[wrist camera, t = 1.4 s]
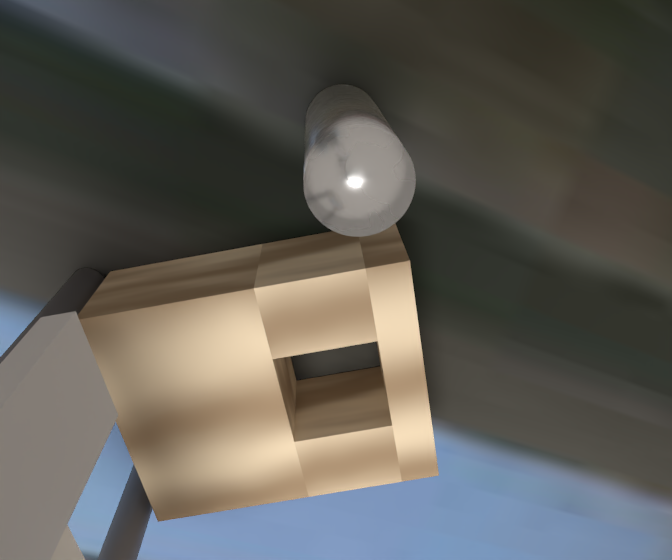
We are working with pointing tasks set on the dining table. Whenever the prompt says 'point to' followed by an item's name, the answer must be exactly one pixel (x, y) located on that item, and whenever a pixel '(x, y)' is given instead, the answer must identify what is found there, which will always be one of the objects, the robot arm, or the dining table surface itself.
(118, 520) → the miniature white table
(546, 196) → the dining table surface
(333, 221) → the peg
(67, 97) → the dining table surface
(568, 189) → the dining table surface
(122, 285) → the socket block
